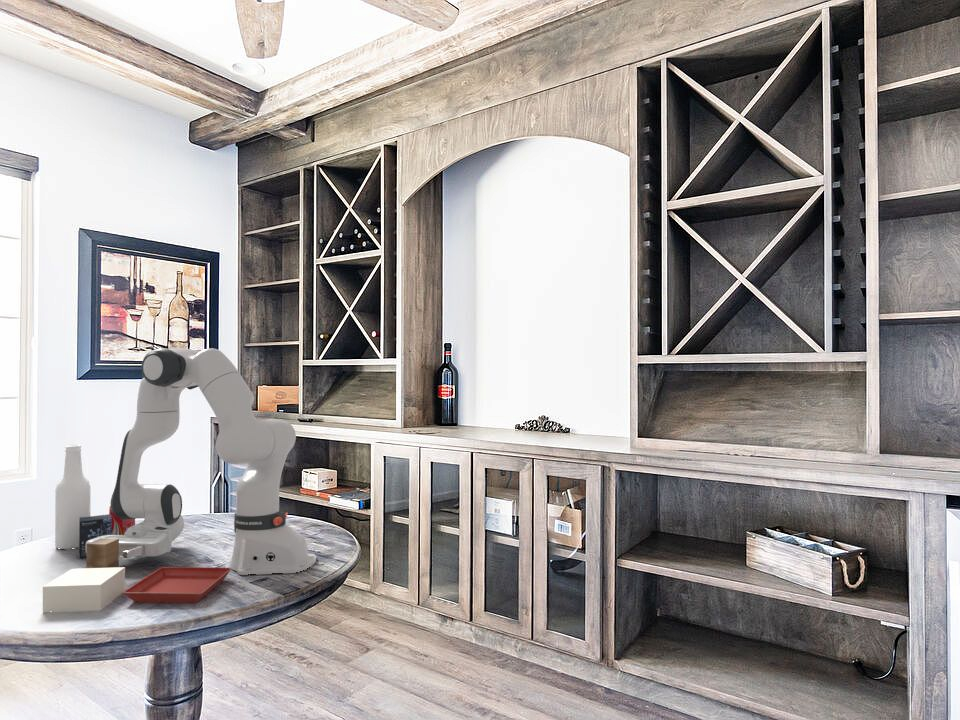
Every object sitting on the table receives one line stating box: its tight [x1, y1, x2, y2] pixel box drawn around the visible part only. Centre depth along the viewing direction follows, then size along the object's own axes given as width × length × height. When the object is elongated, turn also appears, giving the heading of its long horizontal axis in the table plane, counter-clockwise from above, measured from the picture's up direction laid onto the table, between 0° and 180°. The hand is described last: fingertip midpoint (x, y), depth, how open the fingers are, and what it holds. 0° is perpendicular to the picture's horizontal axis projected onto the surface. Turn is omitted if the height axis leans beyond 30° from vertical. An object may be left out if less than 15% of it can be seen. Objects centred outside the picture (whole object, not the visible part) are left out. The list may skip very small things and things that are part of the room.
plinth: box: [42, 566, 126, 613], centre depth 146 cm, size 12×12×6 cm
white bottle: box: [54, 444, 91, 550], centre depth 189 cm, size 9×9×30 cm
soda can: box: [108, 505, 136, 535], centre depth 196 cm, size 7×7×12 cm
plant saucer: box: [122, 566, 232, 604], centre depth 152 cm, size 18×18×3 cm
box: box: [78, 513, 112, 559], centre depth 181 cm, size 8×6×11 cm
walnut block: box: [86, 538, 120, 568], centre depth 159 cm, size 5×5×10 cm
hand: (108, 554), depth 161 cm, fingers open, 8 cm apart
